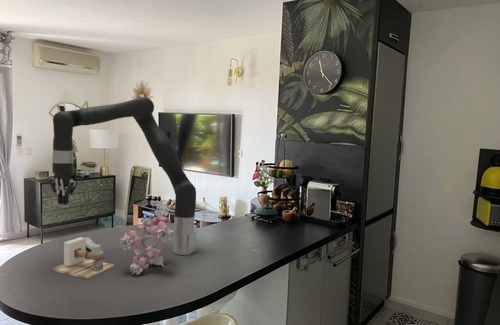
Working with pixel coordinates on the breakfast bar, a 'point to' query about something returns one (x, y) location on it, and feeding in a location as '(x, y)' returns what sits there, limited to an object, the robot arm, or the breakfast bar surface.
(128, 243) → the flower
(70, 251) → the collar
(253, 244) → the breakfast bar surface
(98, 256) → the pipe rig
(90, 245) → the light grey long piece
